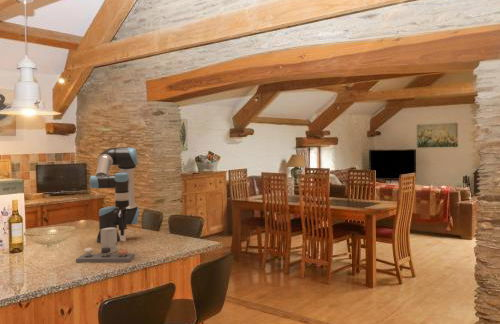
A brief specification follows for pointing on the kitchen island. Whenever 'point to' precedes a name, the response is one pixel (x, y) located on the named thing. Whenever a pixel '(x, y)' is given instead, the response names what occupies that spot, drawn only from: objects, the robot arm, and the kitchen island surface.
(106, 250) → the button black
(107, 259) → the button board
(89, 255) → the button cream
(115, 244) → the skincare box
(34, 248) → the kitchen island surface
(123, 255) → the button terracotta
